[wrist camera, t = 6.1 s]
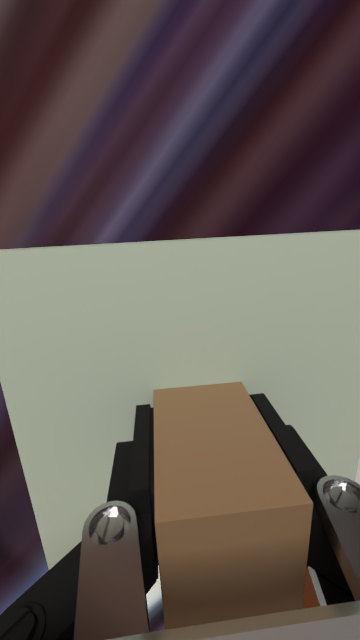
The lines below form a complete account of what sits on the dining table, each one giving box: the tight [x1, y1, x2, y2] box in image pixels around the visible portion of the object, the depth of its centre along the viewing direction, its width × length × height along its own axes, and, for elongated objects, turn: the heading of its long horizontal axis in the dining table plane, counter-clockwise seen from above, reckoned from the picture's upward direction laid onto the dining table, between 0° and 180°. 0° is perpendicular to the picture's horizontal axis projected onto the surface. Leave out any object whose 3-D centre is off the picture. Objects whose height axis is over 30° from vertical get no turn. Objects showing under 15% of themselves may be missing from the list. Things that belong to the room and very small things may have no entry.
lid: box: [0, 230, 360, 629], centre depth 11 cm, size 15×15×8 cm
